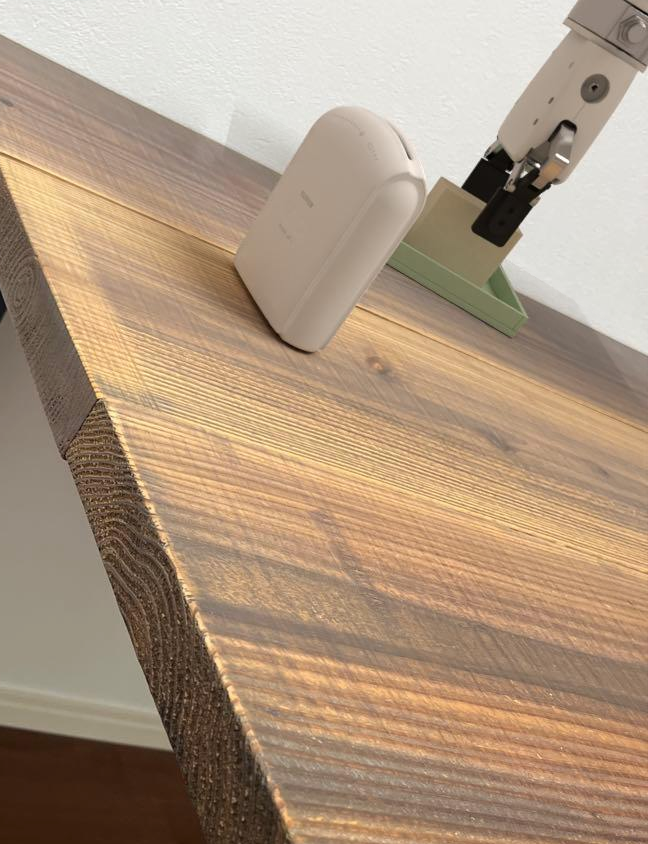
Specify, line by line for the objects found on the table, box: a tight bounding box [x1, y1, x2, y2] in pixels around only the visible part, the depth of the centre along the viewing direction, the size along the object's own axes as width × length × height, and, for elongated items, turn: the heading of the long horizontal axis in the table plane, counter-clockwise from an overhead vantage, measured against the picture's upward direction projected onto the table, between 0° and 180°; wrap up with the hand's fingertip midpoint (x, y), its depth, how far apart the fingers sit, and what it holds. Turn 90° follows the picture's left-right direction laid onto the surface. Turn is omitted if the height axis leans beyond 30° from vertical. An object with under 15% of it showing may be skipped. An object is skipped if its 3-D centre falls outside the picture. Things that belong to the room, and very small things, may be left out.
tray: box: [385, 241, 530, 339], centre depth 93 cm, size 14×15×2 cm
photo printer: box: [233, 105, 428, 353], centre depth 61 cm, size 10×4×12 cm, turn 13°
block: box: [402, 175, 524, 288], centre depth 92 cm, size 4×8×6 cm, turn 80°
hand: (476, 221), depth 91 cm, fingers open, 9 cm apart
